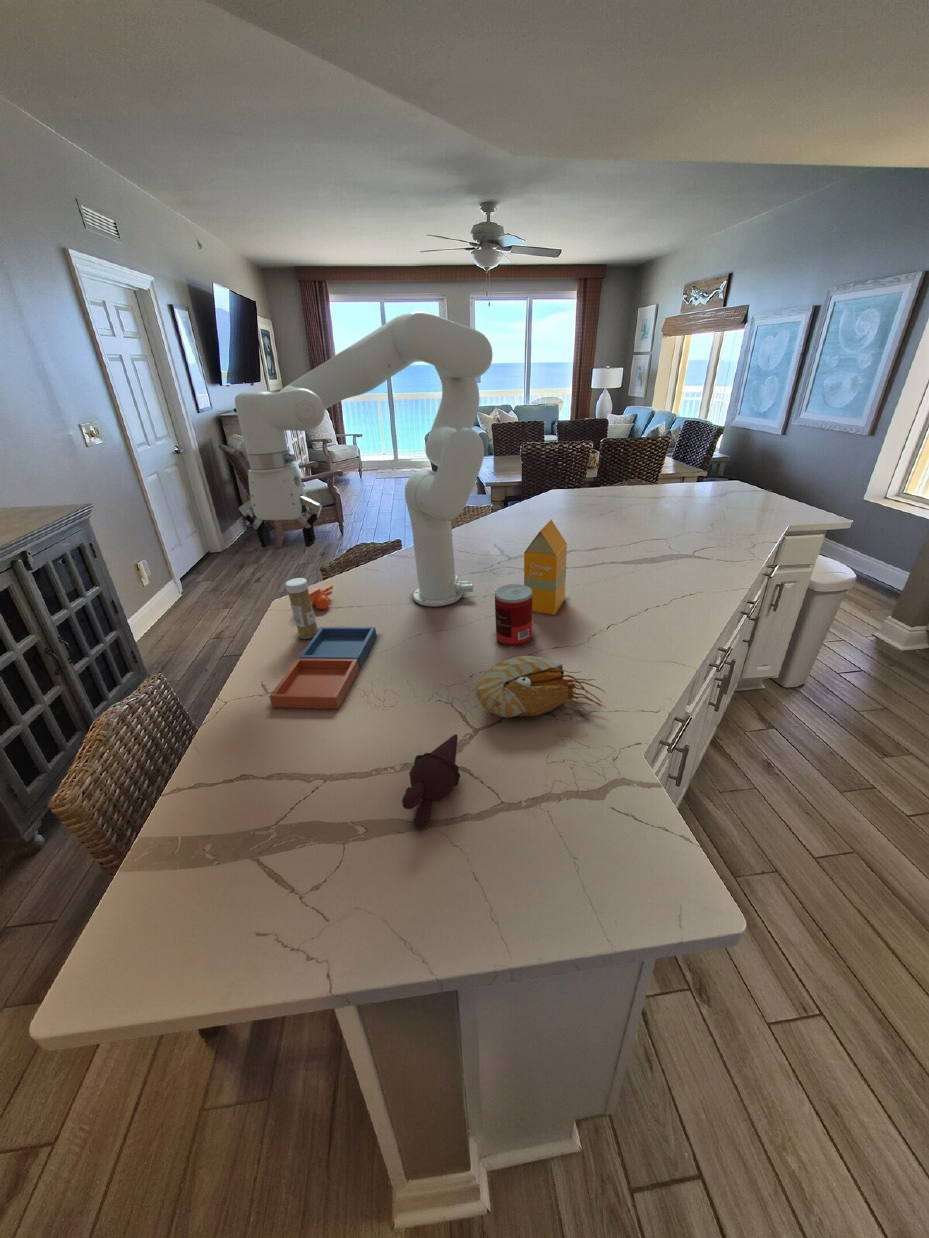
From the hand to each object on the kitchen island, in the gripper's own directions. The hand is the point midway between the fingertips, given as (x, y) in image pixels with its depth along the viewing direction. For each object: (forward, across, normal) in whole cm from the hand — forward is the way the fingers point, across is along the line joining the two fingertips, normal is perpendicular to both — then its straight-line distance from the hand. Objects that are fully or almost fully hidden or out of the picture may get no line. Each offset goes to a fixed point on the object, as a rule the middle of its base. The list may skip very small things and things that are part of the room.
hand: (288, 545), depth 104 cm
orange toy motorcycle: (+22, +3, -13) cm, 25 cm away
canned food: (+21, -47, +1) cm, 52 cm away
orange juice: (+21, -54, -15) cm, 60 cm away
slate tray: (+21, -10, +8) cm, 25 cm away
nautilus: (+21, -52, +25) cm, 62 cm away
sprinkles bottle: (+22, 0, +1) cm, 22 cm away
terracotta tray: (+22, -10, +21) cm, 32 cm away
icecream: (+22, -38, +44) cm, 62 cm away
